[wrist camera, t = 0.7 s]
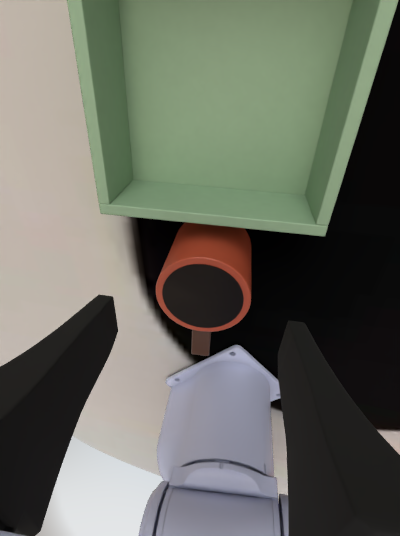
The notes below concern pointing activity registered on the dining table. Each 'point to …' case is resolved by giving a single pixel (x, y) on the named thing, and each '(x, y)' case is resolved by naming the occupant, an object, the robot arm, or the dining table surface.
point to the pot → (206, 280)
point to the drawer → (226, 105)
